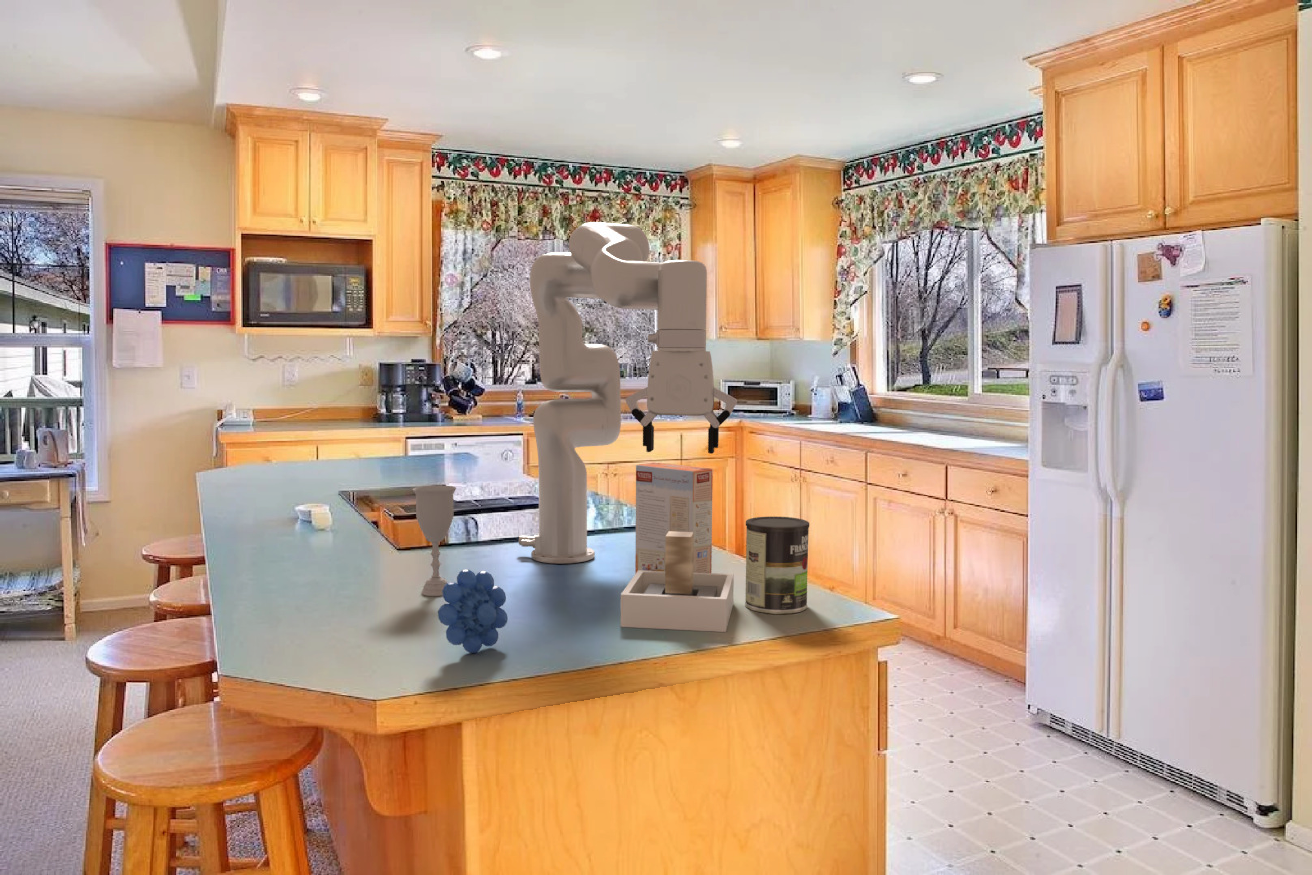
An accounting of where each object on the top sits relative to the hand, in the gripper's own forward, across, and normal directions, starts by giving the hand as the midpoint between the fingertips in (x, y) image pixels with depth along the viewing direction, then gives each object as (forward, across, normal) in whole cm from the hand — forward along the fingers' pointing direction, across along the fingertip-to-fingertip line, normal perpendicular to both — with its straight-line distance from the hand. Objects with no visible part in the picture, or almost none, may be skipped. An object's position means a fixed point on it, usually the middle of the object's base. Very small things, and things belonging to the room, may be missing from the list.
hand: (680, 451), depth 153 cm
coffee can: (+26, +15, +8) cm, 31 cm away
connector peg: (+25, 0, 0) cm, 25 cm away
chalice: (+26, -43, +7) cm, 51 cm away
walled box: (+26, 0, 0) cm, 26 cm away
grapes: (+26, -25, -24) cm, 43 cm away
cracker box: (+26, -4, +23) cm, 35 cm away
